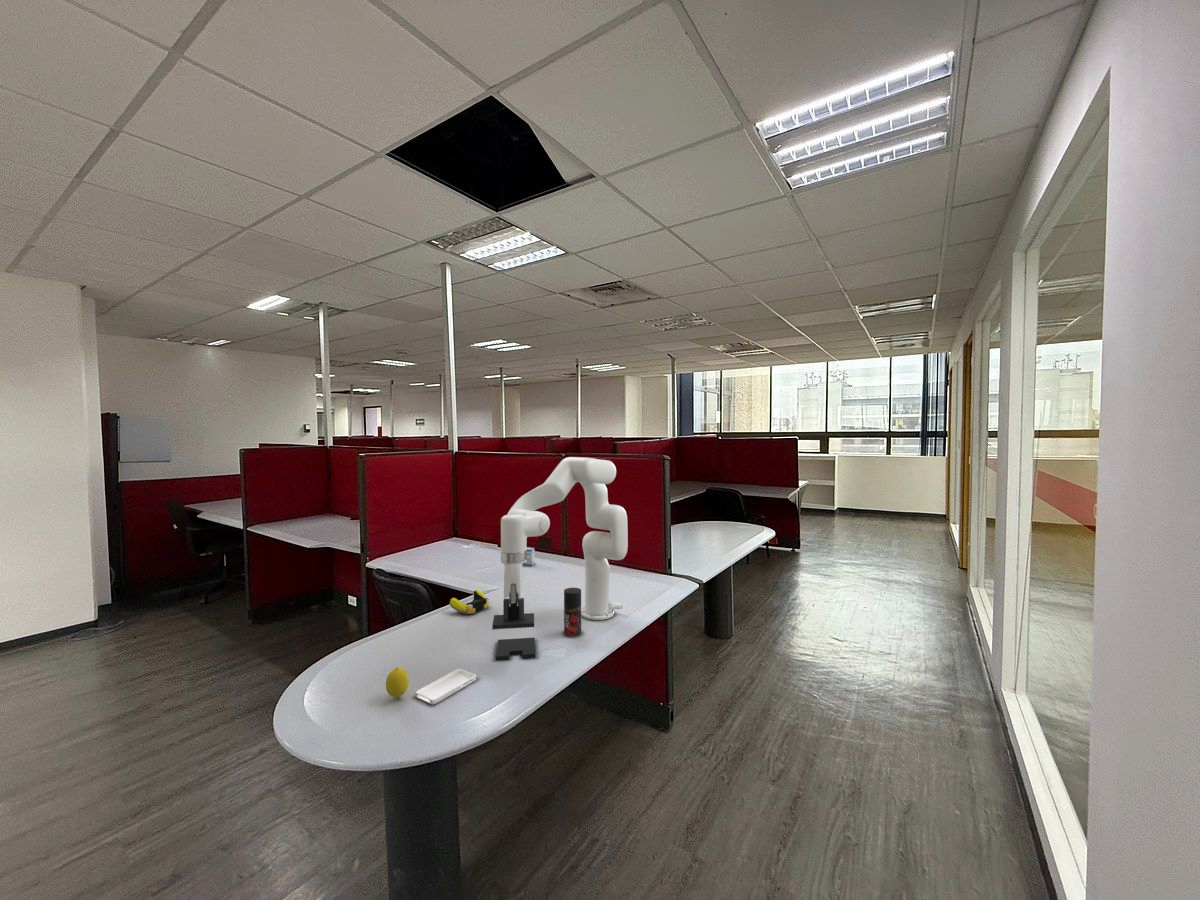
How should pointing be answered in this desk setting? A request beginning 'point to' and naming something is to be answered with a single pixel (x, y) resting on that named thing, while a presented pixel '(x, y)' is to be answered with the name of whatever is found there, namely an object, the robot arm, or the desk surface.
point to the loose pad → (505, 623)
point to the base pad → (515, 648)
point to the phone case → (445, 686)
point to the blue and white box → (530, 557)
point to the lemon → (397, 682)
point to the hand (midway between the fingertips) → (514, 617)
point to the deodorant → (572, 612)
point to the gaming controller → (471, 604)
